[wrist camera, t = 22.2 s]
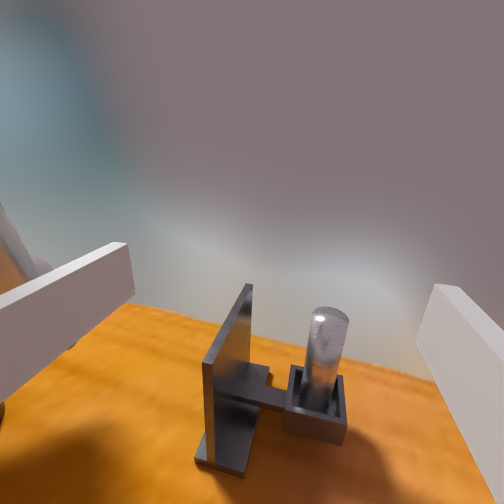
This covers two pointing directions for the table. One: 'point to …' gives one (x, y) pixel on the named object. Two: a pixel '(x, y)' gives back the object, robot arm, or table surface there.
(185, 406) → the table surface
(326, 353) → the rail post
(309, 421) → the cup bracket
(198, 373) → the table surface
